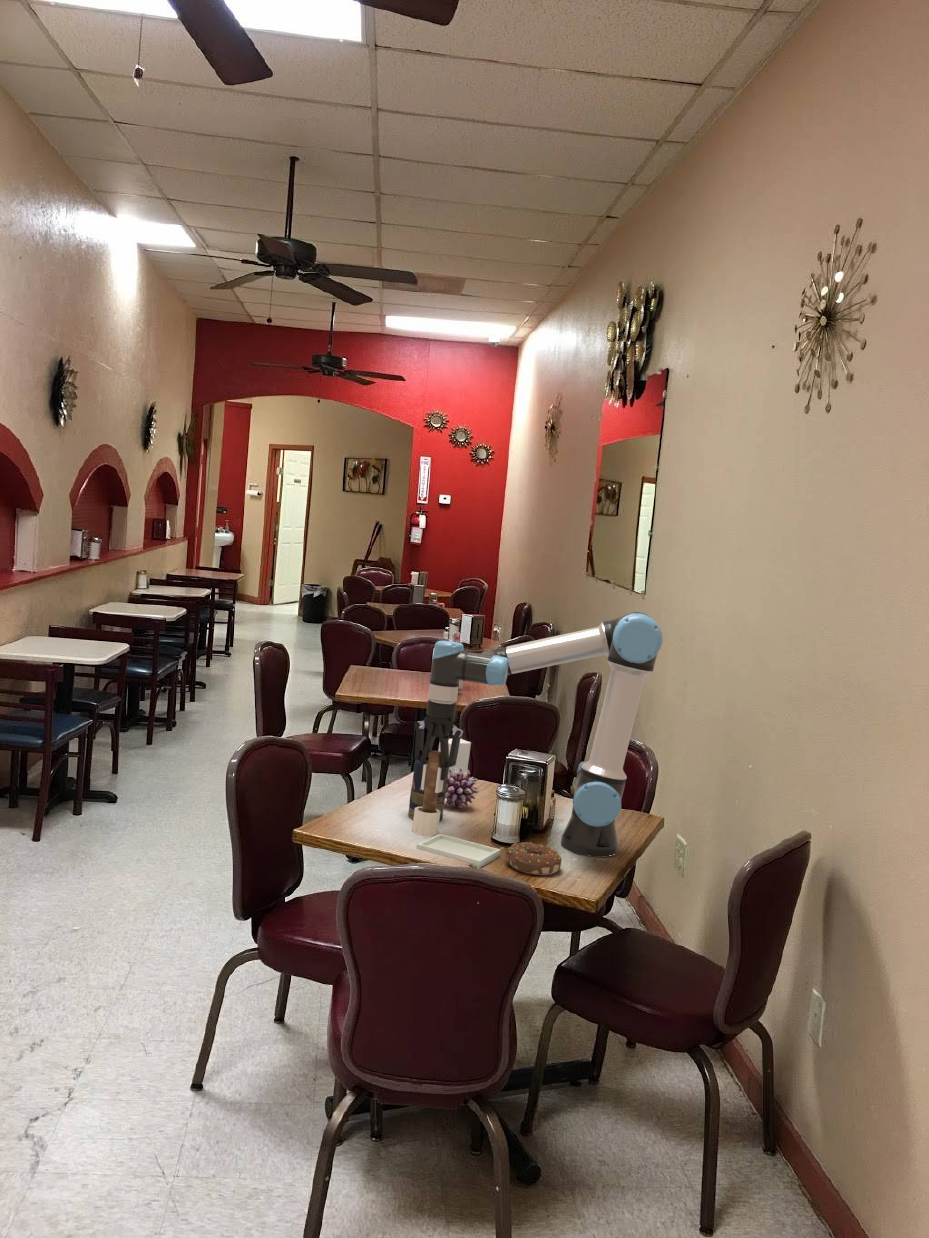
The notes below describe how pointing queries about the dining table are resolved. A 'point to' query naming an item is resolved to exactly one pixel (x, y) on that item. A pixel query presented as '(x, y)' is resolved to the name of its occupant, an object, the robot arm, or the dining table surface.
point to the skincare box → (460, 755)
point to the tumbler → (425, 822)
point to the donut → (533, 858)
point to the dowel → (431, 782)
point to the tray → (460, 850)
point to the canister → (418, 793)
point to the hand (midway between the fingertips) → (431, 790)
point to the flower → (460, 788)
